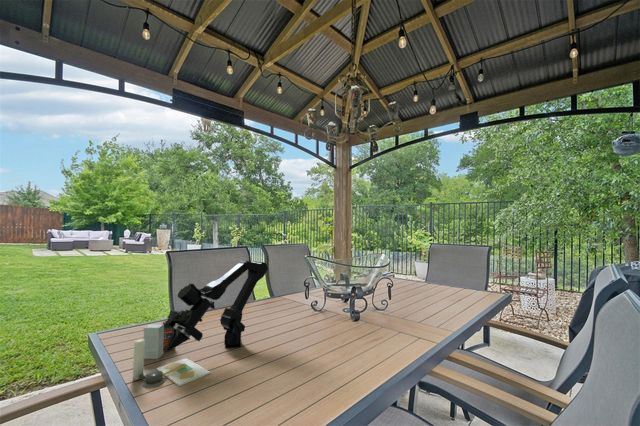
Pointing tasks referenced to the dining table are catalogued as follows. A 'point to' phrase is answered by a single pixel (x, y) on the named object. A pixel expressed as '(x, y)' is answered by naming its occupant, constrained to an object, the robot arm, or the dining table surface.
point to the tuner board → (180, 373)
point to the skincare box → (153, 341)
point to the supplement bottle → (166, 335)
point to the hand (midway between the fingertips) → (167, 350)
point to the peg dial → (139, 365)
